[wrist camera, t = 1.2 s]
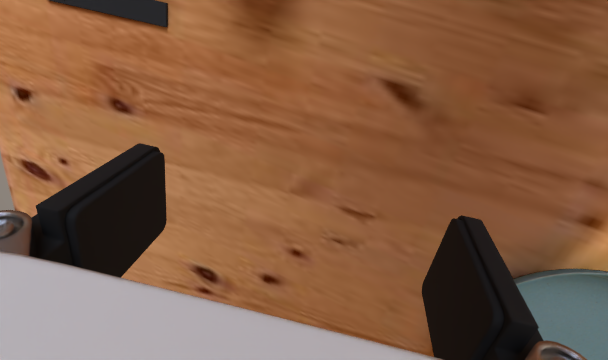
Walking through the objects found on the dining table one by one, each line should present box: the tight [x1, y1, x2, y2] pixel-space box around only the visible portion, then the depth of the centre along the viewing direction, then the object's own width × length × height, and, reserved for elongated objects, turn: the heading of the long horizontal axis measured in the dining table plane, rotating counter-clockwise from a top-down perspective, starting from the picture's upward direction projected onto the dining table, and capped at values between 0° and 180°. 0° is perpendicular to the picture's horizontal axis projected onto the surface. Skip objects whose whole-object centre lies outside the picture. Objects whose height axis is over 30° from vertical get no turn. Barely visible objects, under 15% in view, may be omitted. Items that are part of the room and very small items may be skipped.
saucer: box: [513, 269, 608, 360], centre depth 40 cm, size 24×24×3 cm
